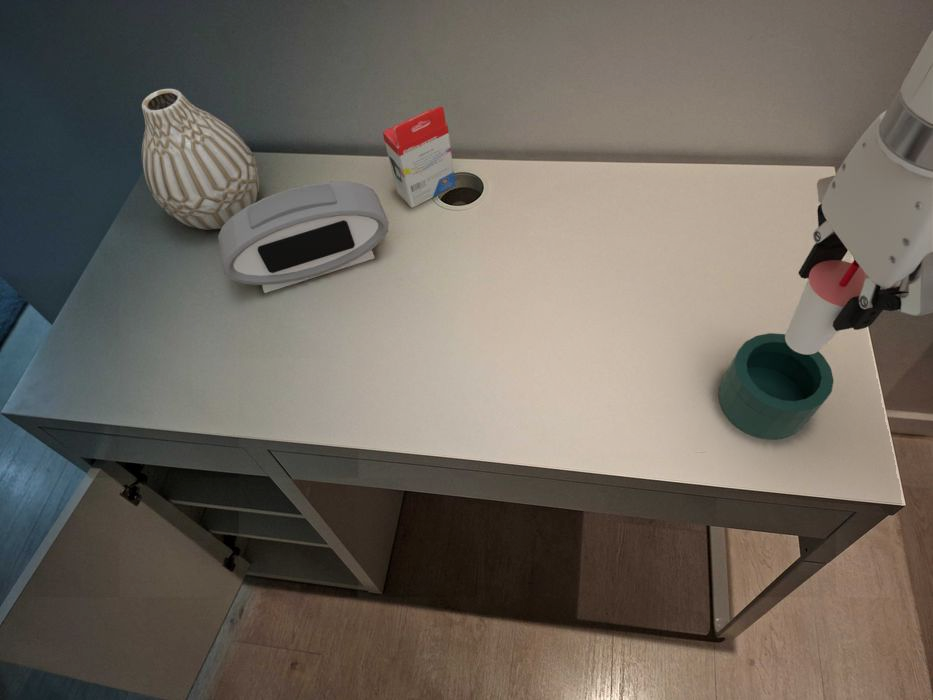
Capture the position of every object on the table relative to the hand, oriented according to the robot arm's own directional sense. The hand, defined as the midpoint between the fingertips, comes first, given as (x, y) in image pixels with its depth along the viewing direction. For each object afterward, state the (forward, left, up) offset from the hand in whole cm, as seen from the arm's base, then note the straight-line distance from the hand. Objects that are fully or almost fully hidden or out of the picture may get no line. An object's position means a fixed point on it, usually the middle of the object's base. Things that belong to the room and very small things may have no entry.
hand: (832, 297), depth 54 cm
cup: (0, 0, -7) cm, 7 cm away
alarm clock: (+52, -35, -20) cm, 66 cm away
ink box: (+34, -47, -20) cm, 61 cm away
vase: (+67, -51, -20) cm, 86 cm away
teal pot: (0, 0, -20) cm, 20 cm away
